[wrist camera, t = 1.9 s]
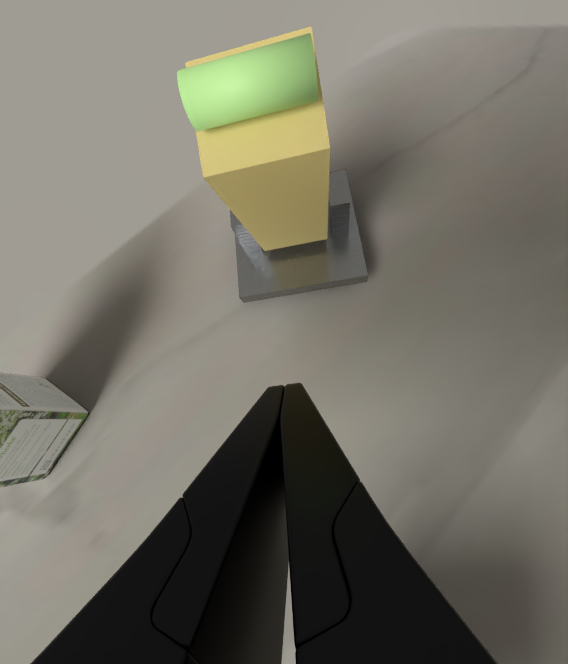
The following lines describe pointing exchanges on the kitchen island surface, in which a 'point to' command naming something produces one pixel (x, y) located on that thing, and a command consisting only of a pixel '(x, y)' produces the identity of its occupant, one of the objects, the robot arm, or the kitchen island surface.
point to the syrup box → (33, 427)
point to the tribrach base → (304, 254)
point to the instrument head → (264, 136)
